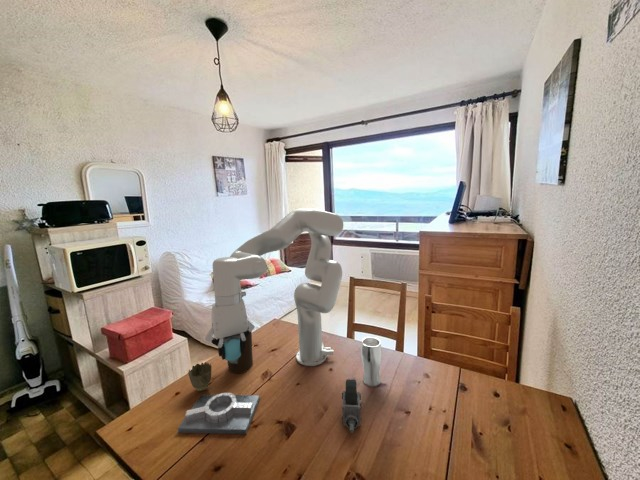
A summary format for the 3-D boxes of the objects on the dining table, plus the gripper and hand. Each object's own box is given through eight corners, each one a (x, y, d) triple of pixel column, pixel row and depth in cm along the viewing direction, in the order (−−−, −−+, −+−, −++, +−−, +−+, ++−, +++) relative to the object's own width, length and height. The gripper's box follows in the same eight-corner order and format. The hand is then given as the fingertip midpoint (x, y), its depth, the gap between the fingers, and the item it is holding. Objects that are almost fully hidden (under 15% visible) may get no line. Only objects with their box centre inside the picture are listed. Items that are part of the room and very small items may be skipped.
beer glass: (359, 384, 91) (359, 345, 89) (364, 372, 98) (363, 335, 95) (380, 389, 89) (379, 348, 86) (383, 376, 95) (382, 338, 93)
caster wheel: (342, 401, 85) (341, 438, 71) (342, 372, 85) (340, 404, 70) (360, 402, 85) (362, 440, 70) (359, 373, 84) (361, 405, 69)
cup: (205, 398, 88) (202, 376, 87) (186, 395, 90) (183, 374, 88) (217, 383, 95) (215, 362, 94) (200, 380, 97) (197, 361, 96)
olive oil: (241, 355, 112) (236, 300, 108) (259, 362, 106) (255, 304, 103) (221, 369, 103) (214, 309, 99) (239, 378, 97) (233, 314, 94)
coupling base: (259, 399, 86) (258, 388, 86) (246, 434, 74) (245, 421, 73) (201, 398, 88) (200, 388, 87) (178, 432, 75) (176, 420, 74)
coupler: (238, 349, 85) (237, 329, 84) (242, 357, 80) (241, 335, 80) (222, 354, 82) (220, 333, 81) (225, 362, 78) (224, 340, 77)
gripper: (252, 290, 86) (255, 341, 89) (196, 300, 78) (200, 357, 80) (259, 296, 80) (262, 351, 82) (199, 308, 71) (204, 370, 74)
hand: (232, 354), depth 81 cm, fingers closed on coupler, 5 cm apart
